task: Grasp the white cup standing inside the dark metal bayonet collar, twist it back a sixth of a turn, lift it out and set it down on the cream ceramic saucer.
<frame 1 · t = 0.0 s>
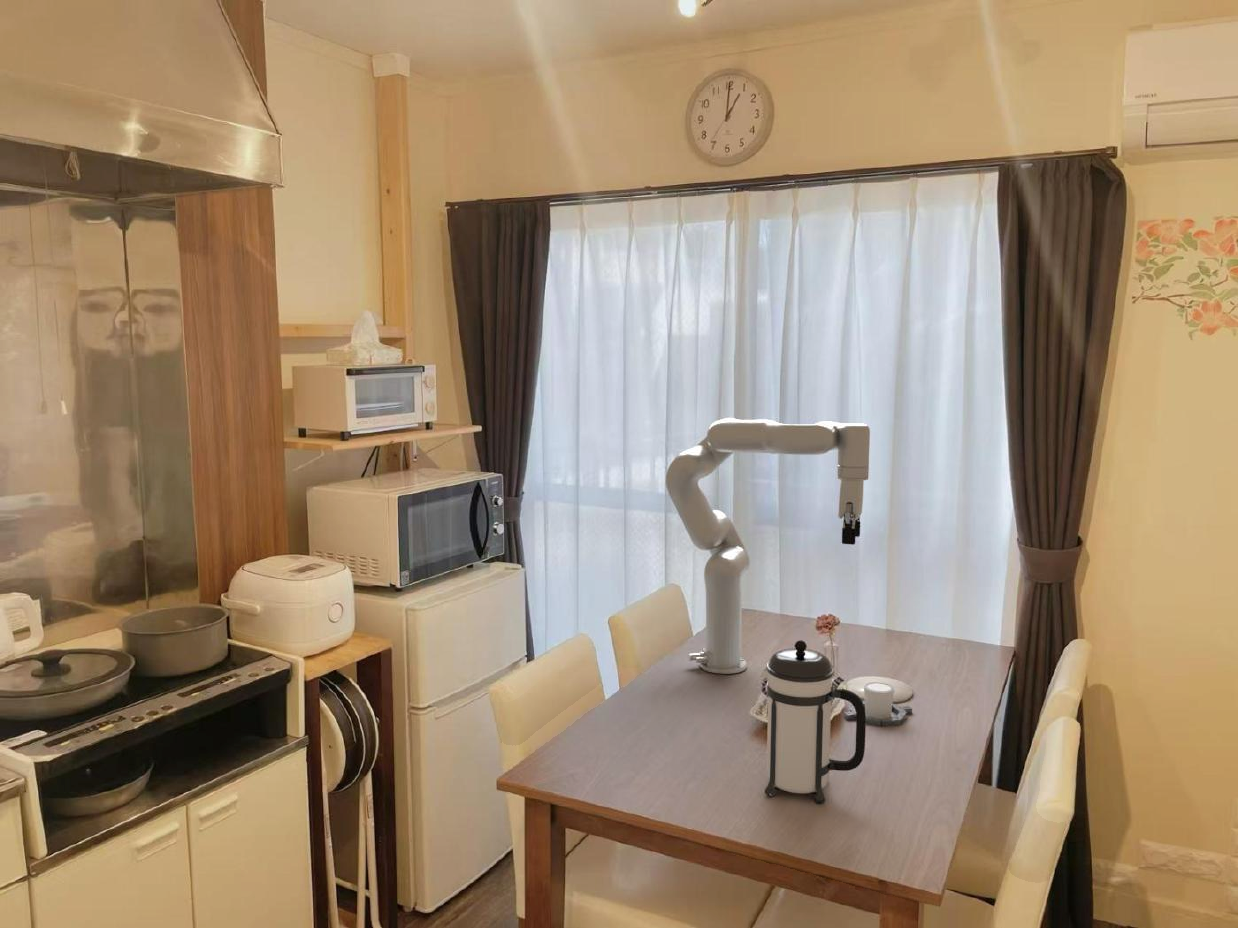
hand: (850, 540, 235), 37 cm above the table, tool pointing down, fingers open, 9 cm apart
coffee press: (804, 788, 184), on the table
collar: (878, 715, 219), on the table
saucer: (879, 690, 234), on the table
white cup: (878, 716, 219), resting in collar
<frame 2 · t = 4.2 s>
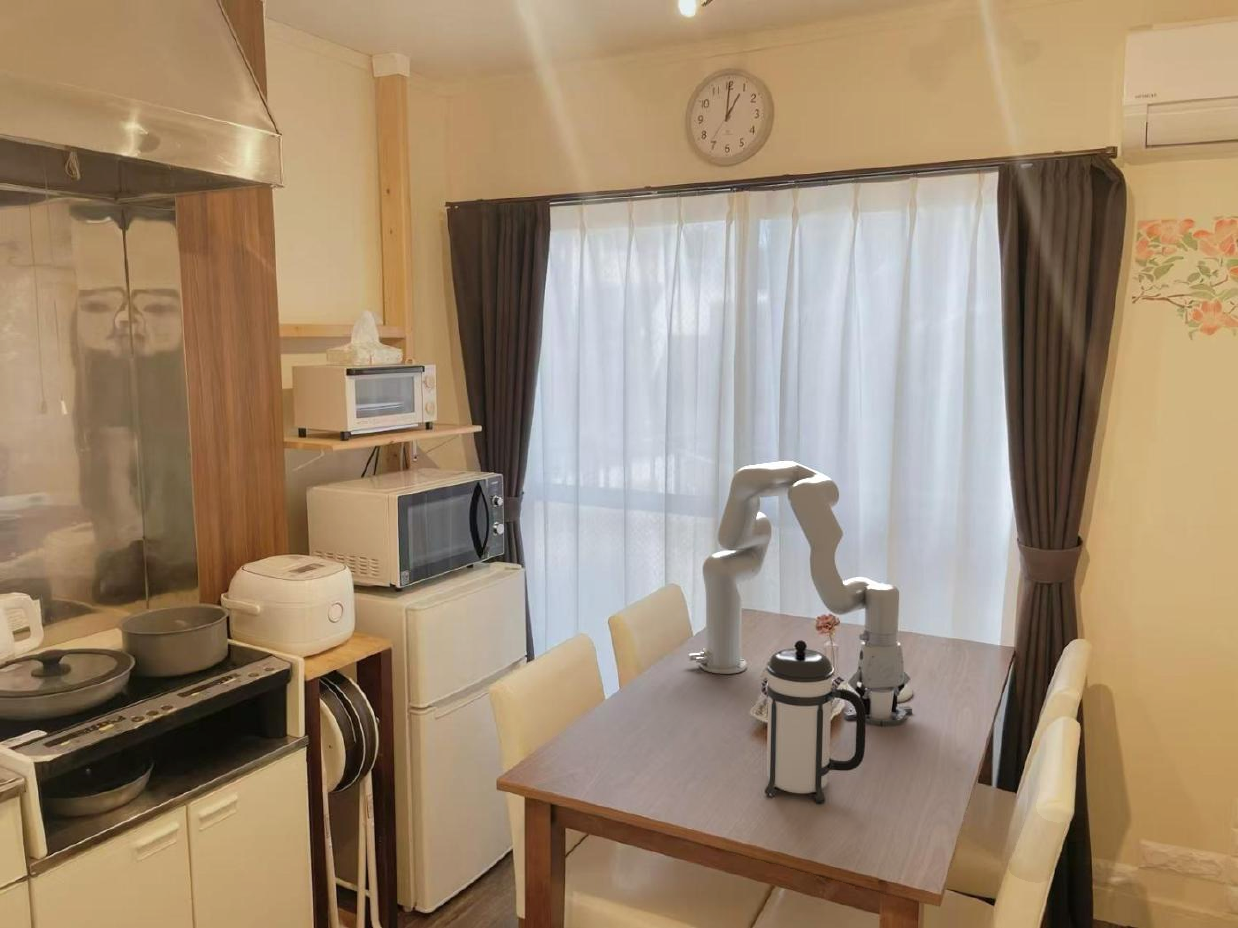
hand: (878, 710, 219), 1 cm above the table, tool pointing down, fingers closed on white cup, 6 cm apart
white cup: (878, 716, 219), resting in collar, touching gripper
everything else where it was.
when the fingers open (3 cm above the table, at t = 10.9 s): white cup stays where it is, resting on saucer.
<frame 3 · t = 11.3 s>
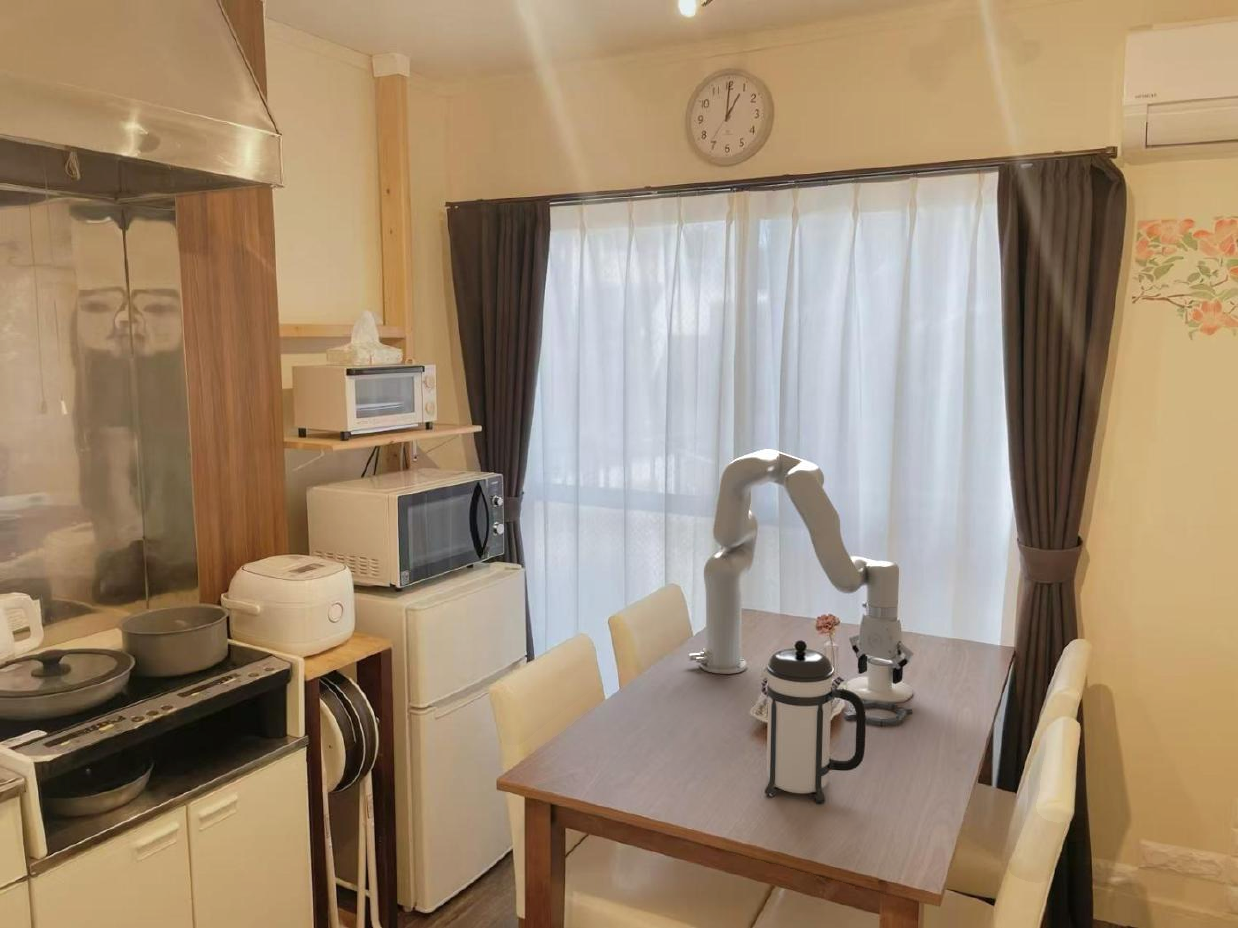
hand: (879, 677, 234), 3 cm above the table, tool pointing down, fingers open, 9 cm apart
white cup: (879, 688, 234), point 1 cm above the table, touching saucer
everything else where it was.
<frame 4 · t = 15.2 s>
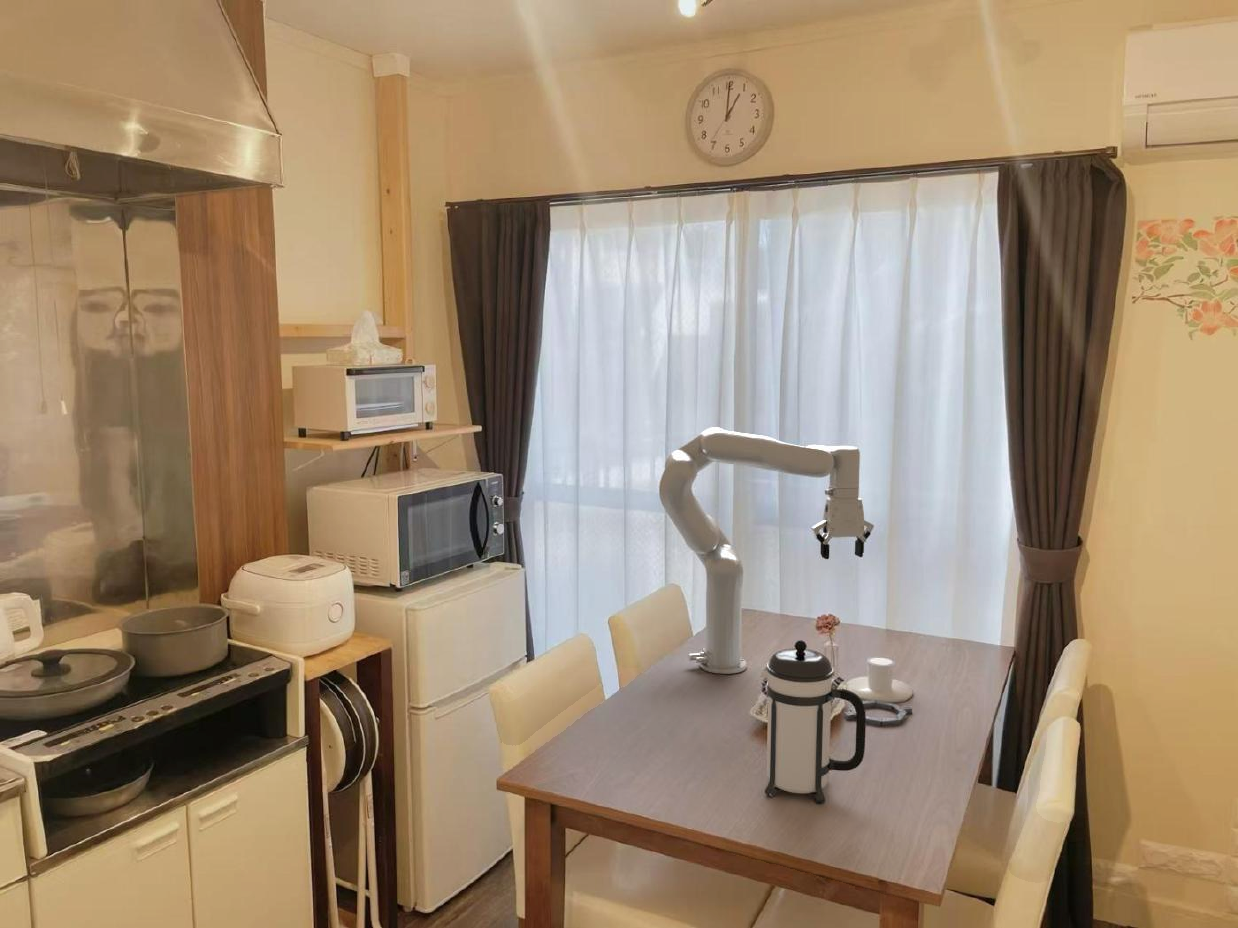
hand: (842, 557, 247), 30 cm above the table, tool pointing down, fingers open, 9 cm apart
nothing on the table moved.
at the end: white cup 0.2 cm from the saucer (horizontally); white cup tilted 0°; the gripper is holding nothing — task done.
